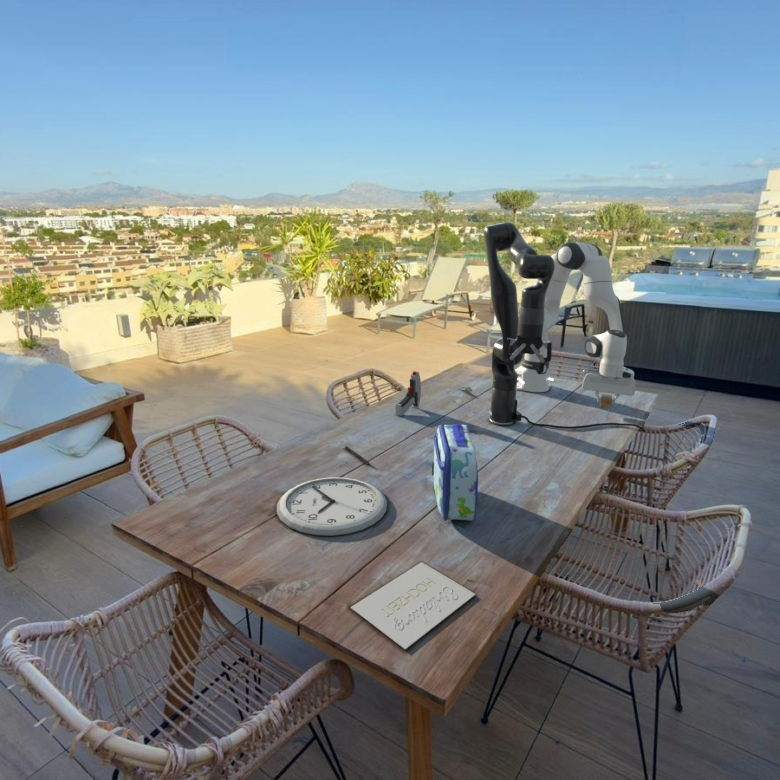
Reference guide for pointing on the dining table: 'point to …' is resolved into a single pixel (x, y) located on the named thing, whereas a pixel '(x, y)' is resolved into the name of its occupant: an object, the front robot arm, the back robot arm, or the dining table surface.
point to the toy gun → (410, 395)
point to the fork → (464, 389)
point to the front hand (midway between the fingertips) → (526, 372)
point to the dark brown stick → (357, 455)
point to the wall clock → (331, 506)
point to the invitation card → (412, 604)
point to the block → (605, 401)
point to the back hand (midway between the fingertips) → (605, 402)
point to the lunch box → (455, 472)
